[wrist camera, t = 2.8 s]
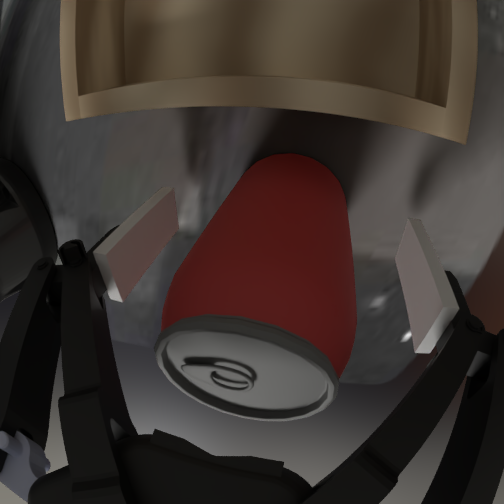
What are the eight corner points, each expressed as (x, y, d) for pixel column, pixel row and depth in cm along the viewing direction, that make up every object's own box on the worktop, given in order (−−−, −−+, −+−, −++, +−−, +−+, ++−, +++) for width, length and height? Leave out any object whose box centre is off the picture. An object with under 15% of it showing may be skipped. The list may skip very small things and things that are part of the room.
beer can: (236, 146, 16) (106, 285, 6) (352, 156, 15) (392, 331, 5) (239, 241, 20) (167, 403, 10) (337, 253, 19) (329, 435, 9)
